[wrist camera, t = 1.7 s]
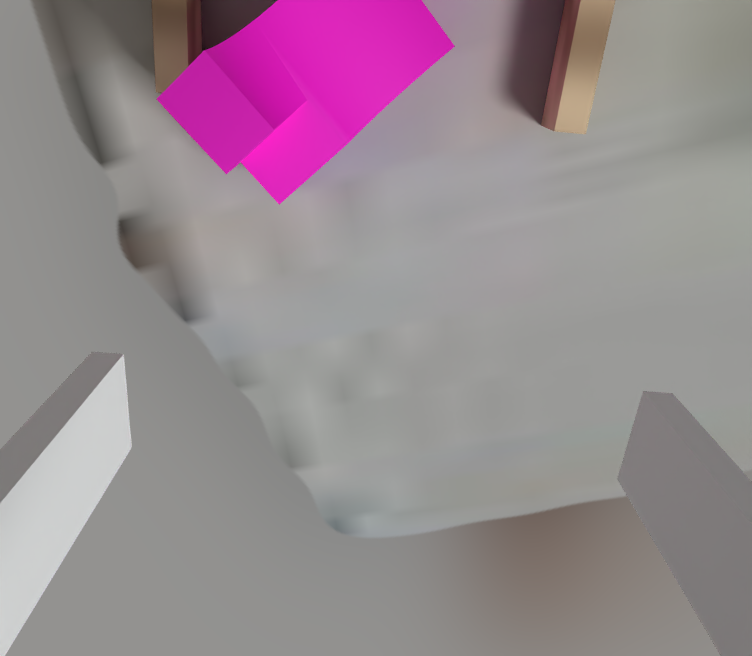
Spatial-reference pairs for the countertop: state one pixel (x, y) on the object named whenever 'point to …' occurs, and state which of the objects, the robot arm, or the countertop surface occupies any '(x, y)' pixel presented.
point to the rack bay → (567, 82)
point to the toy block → (302, 83)
